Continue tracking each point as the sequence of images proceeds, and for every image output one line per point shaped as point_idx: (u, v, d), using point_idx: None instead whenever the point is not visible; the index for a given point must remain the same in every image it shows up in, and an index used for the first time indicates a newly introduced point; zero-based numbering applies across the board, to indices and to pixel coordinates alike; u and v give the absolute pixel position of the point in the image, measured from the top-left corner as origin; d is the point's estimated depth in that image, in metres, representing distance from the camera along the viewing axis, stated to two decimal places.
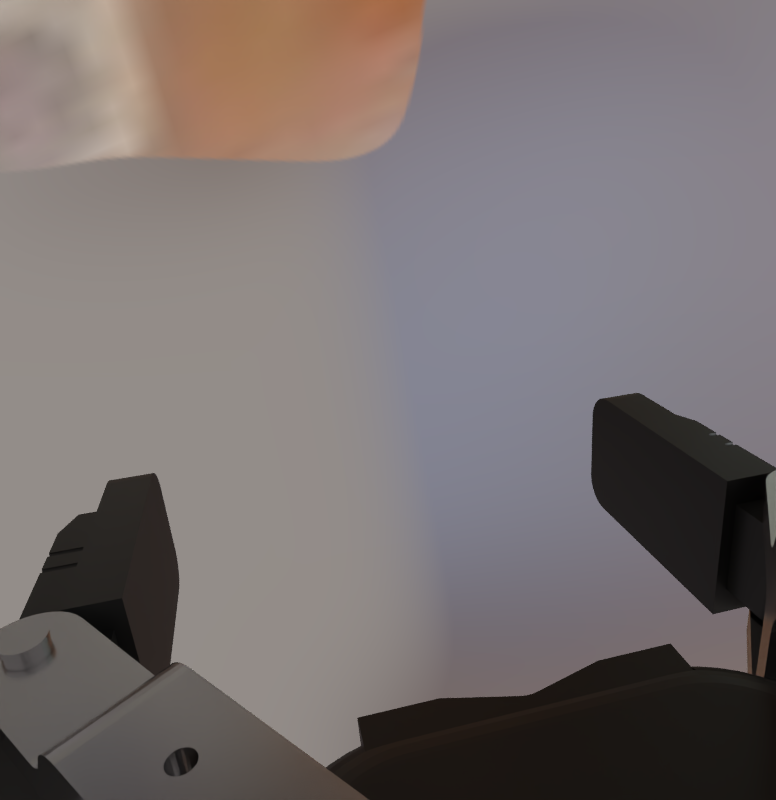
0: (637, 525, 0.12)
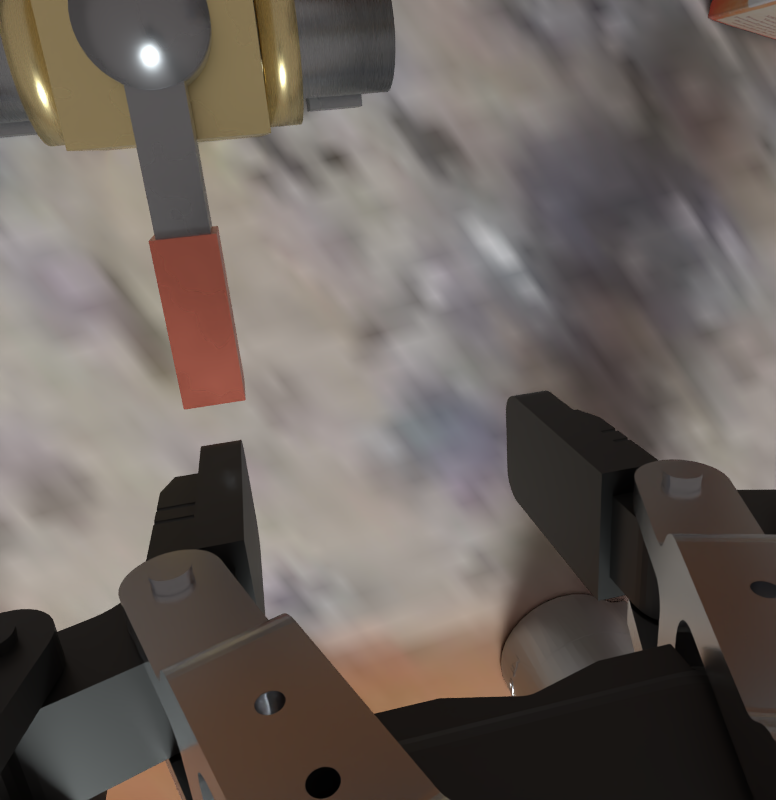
0: (541, 517, 0.12)
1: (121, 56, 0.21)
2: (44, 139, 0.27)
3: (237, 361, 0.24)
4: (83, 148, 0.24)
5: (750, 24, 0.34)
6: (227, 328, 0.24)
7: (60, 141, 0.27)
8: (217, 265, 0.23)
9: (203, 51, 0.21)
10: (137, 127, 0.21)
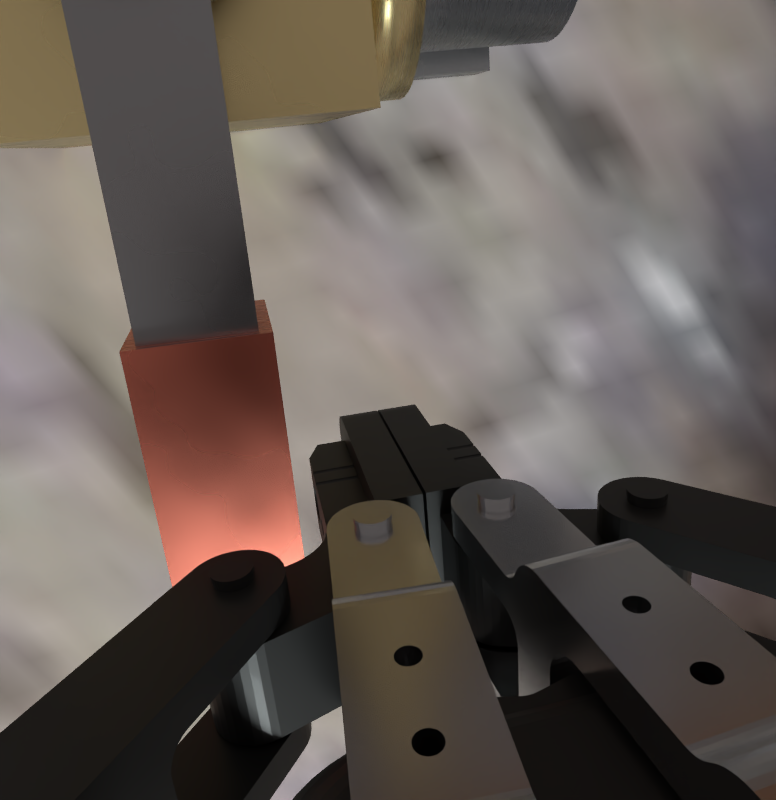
0: None
1: None
2: None
3: None
4: None
5: None
6: (287, 522, 0.11)
7: None
8: (272, 398, 0.11)
9: None
10: (92, 88, 0.09)
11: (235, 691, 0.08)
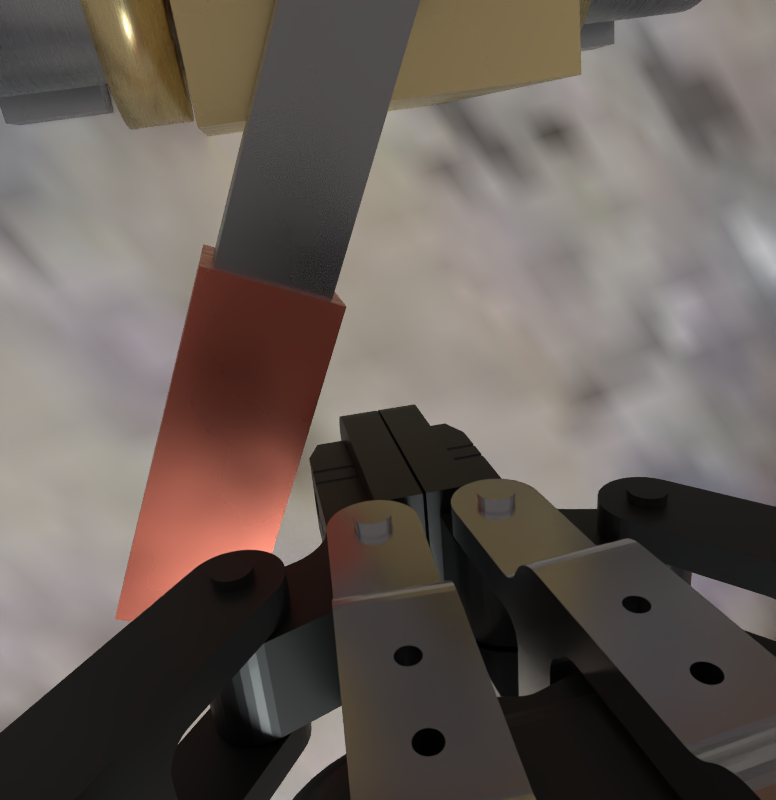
0: None
1: None
2: (127, 115, 0.15)
3: None
4: (230, 120, 0.12)
5: None
6: (277, 493, 0.11)
7: (153, 118, 0.15)
8: (317, 368, 0.11)
9: None
10: (286, 19, 0.09)
11: (233, 691, 0.08)
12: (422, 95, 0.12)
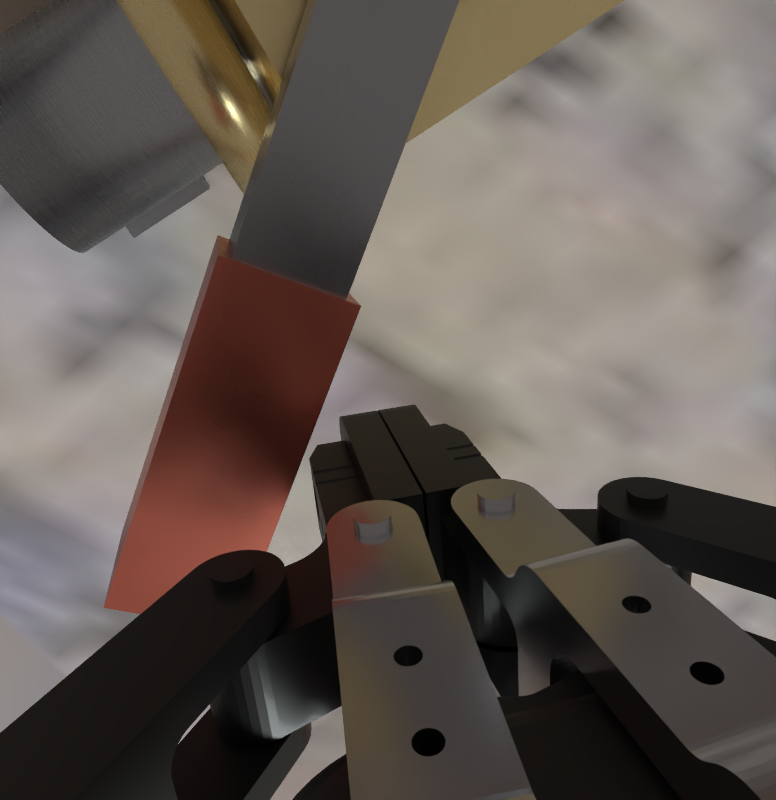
0: None
1: None
2: None
3: None
4: None
5: None
6: (277, 489, 0.11)
7: None
8: (327, 365, 0.11)
9: None
10: (324, 15, 0.09)
11: (235, 690, 0.08)
12: (525, 63, 0.12)
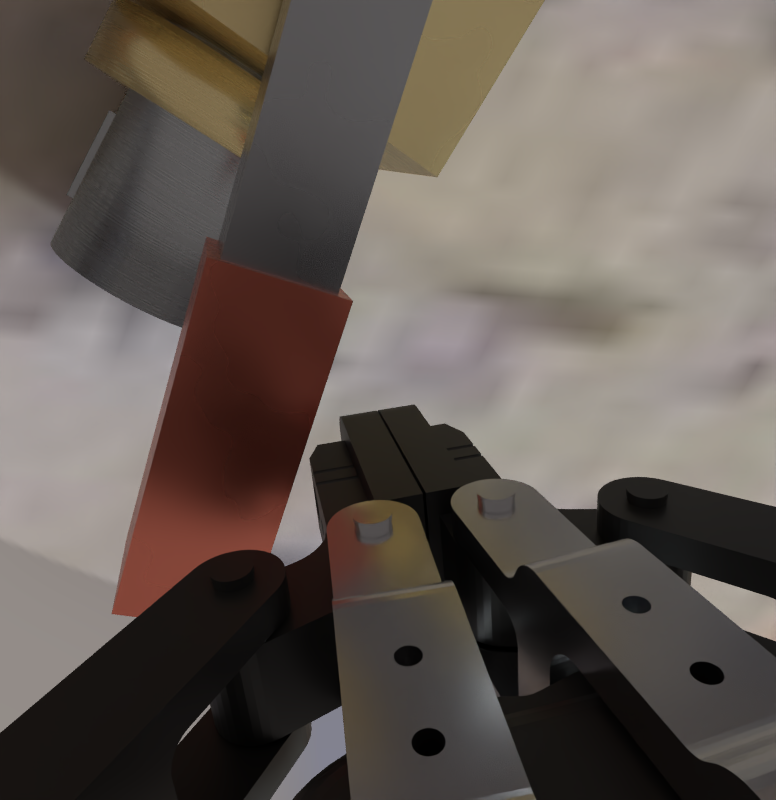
0: None
1: None
2: None
3: None
4: (452, 149, 0.13)
5: None
6: (279, 488, 0.11)
7: None
8: (322, 362, 0.11)
9: None
10: (300, 10, 0.09)
11: (234, 691, 0.08)
12: None
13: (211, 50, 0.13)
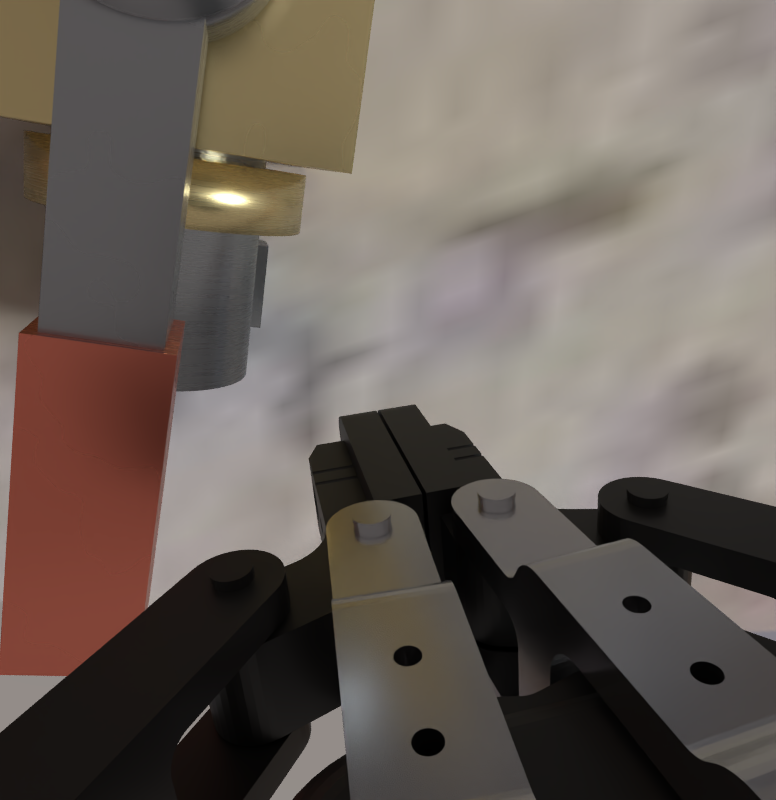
0: None
1: None
2: (294, 230, 0.17)
3: (142, 605, 0.12)
4: (354, 141, 0.13)
5: None
6: (141, 540, 0.11)
7: (300, 209, 0.17)
8: (158, 417, 0.11)
9: None
10: (66, 86, 0.09)
11: (234, 691, 0.08)
12: None
13: None
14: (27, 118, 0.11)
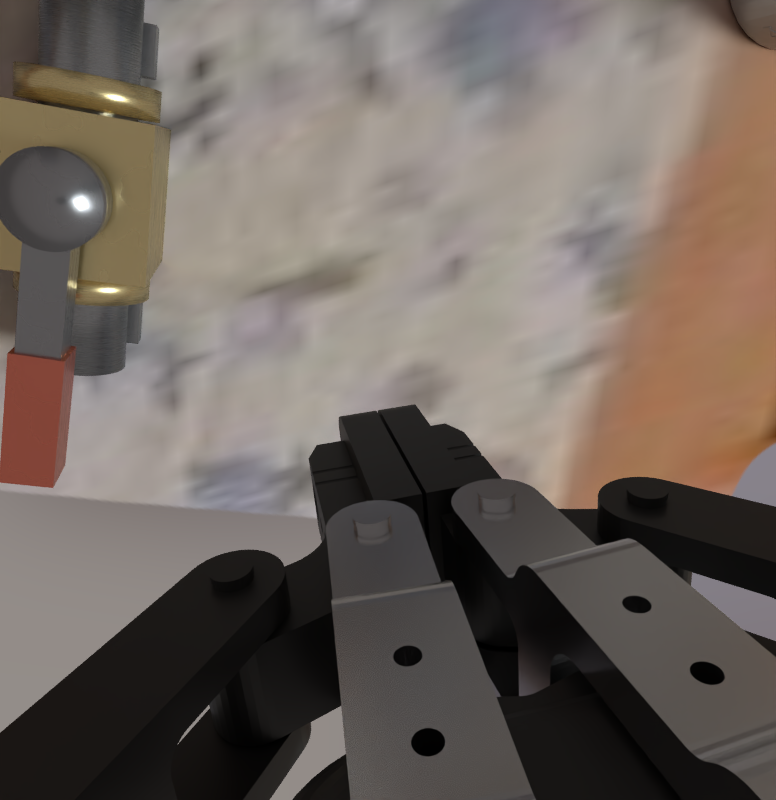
0: None
1: (25, 223, 0.27)
2: (141, 300, 0.35)
3: (54, 457, 0.30)
4: (145, 275, 0.31)
5: None
6: (53, 431, 0.30)
7: (144, 290, 0.35)
8: (58, 384, 0.29)
9: (91, 236, 0.28)
10: (24, 272, 0.28)
11: (234, 691, 0.08)
12: (150, 198, 0.30)
13: None
14: (12, 270, 0.30)
